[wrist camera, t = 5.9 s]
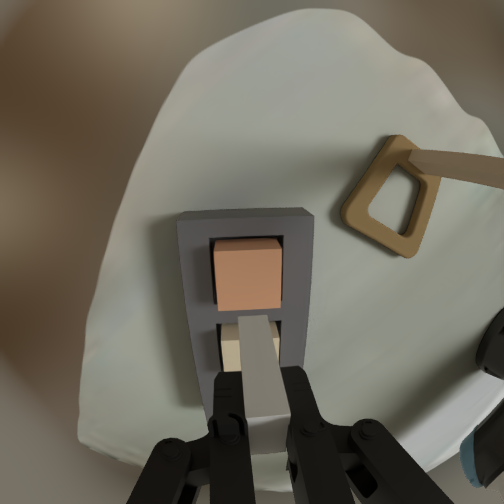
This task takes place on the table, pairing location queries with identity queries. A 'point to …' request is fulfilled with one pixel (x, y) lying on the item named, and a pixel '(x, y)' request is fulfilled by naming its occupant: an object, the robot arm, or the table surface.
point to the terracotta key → (248, 273)
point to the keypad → (210, 319)
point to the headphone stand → (429, 174)
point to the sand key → (233, 348)
